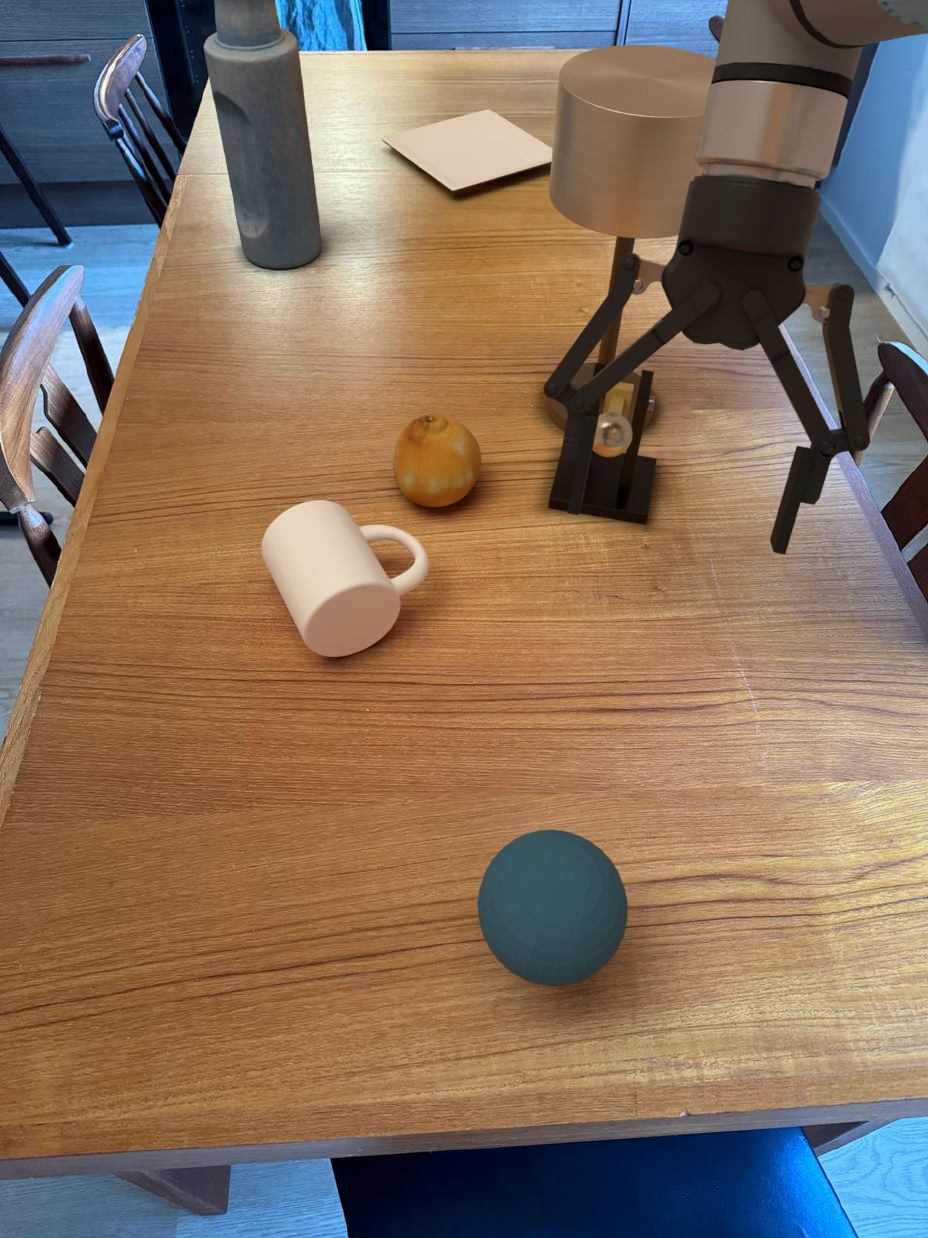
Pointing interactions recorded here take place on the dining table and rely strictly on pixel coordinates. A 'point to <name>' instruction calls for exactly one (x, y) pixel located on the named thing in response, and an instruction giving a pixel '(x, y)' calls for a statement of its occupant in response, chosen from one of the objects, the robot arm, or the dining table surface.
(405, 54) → the dining table surface
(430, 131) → the plate
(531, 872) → the dark teal ovoid
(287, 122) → the bottle
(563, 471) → the switch bracket
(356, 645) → the mug
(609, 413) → the lamp switch
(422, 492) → the fruit
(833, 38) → the robot arm
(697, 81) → the lamp
